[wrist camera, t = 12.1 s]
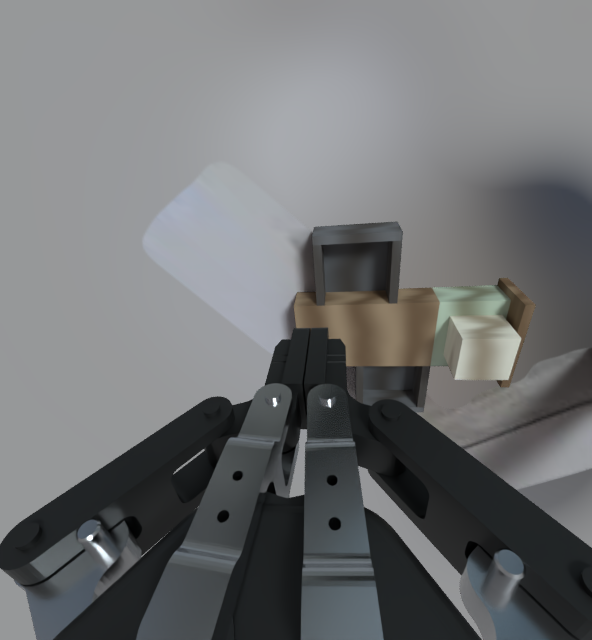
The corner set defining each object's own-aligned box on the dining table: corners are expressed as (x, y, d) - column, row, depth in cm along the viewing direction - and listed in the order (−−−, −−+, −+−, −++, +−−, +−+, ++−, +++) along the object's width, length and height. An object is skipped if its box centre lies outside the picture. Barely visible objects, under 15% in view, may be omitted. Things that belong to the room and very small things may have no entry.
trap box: (524, 213, 37) (559, 231, 31) (477, 393, 52) (495, 429, 46) (290, 228, 41) (282, 247, 35) (307, 392, 56) (303, 425, 50)
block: (502, 314, 40) (521, 338, 36) (491, 354, 43) (508, 379, 39) (449, 316, 41) (462, 339, 36) (443, 354, 44) (454, 379, 39)
